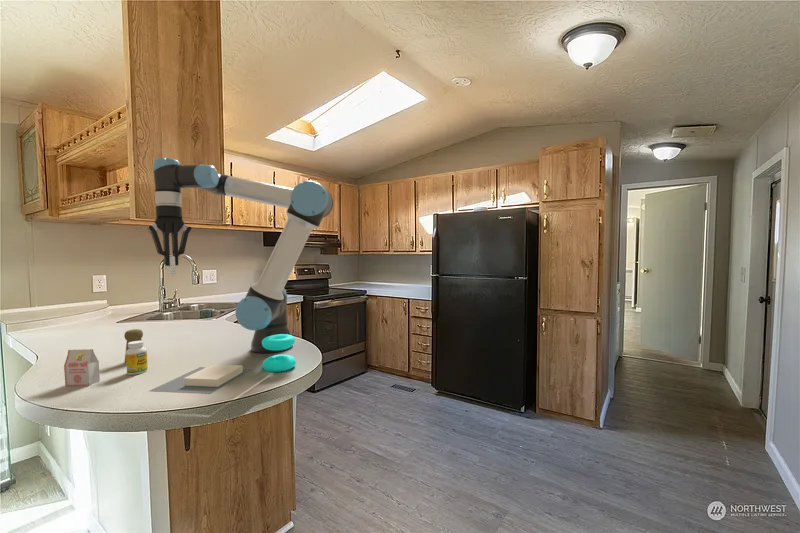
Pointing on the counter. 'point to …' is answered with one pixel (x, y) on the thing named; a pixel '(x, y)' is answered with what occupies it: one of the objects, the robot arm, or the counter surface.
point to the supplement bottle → (136, 358)
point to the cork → (132, 337)
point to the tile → (213, 376)
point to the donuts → (278, 361)
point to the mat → (179, 386)
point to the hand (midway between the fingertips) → (172, 275)
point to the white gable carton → (81, 368)
